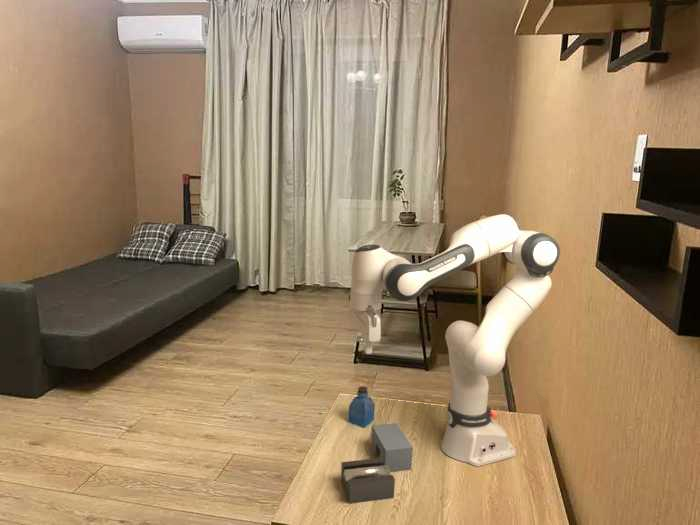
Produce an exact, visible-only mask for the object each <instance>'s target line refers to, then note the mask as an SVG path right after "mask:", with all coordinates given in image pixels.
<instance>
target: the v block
mask: <svg viewBox="0 0 700 525" xmlns="http://www.w3.org/2000/svg"><path fill="white" fill-rule="evenodd" d="M382 465H385V460H384V458H380V457H378V458H369V459H368V458H367V459H360V460H350V461H342V462H341V466H340V482H341V484H342V487H343V490H344V492H345V495H346V498H347V500H348V503H349V504H357V503H365V502H372V501H382V500H388V499H389V500H390V499H394V498H395V482H396V478H395V476H394V475H393V474H390V475H385V476H377V477H369V478H360V479H352V480H348V482H345V479H344V470H347V469H355V468H364V467H373V466H382Z"/></svg>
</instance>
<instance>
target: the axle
mask: <svg viewBox="0 0 700 525" xmlns="http://www.w3.org/2000/svg"><path fill="white" fill-rule="evenodd" d="M385 475H391V472H390V469H389V466H388V465H382V466H373V467H364V468H355V469H347V470H344V479H345V482H348V480H352V479H360V478H369V477H377V476H385Z"/></svg>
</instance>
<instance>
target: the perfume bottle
mask: <svg viewBox="0 0 700 525" xmlns="http://www.w3.org/2000/svg"><path fill="white" fill-rule="evenodd" d="M357 388H358V389H357V396H355V397H354V398H353V399H352V401H351V402H350V404H349V405H348V423H349V422H350V423H349V424H351V423H352V425H354V424H355V426H357V427H359V426H360V427H359V428H362V429H365V428H366V427H368V426H369V425H371V424H372V423H373V422H374V421H375V408H376V406H375V405H376V404H375V402H374V400H373V399H372V397H371V396H368V395H369V392H368V387H366V386H359V387H357ZM373 420H374V421H373ZM372 421H373V422H372ZM371 422H372V423H371ZM367 425H368V426H367Z"/></svg>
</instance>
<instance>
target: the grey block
mask: <svg viewBox="0 0 700 525" xmlns="http://www.w3.org/2000/svg"><path fill="white" fill-rule="evenodd" d="M370 438H371V439H370V447H371V449H372V451H373V453H374V455H375V456H378V455H379V458H384V460H385V465H388V466H389V469H390V473H394V472H402V471H410V470H412V464H413V445H411V443H410V441H409V439H408V438H407V437H406V435H405V433H404V432H403V431H402V429H401V427H400V426H399V424H398V423H397V422H394V423H393V422H392V423H391V422H390V423H383V424H382V423H381V424H372V425H371V437H370Z"/></svg>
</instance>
